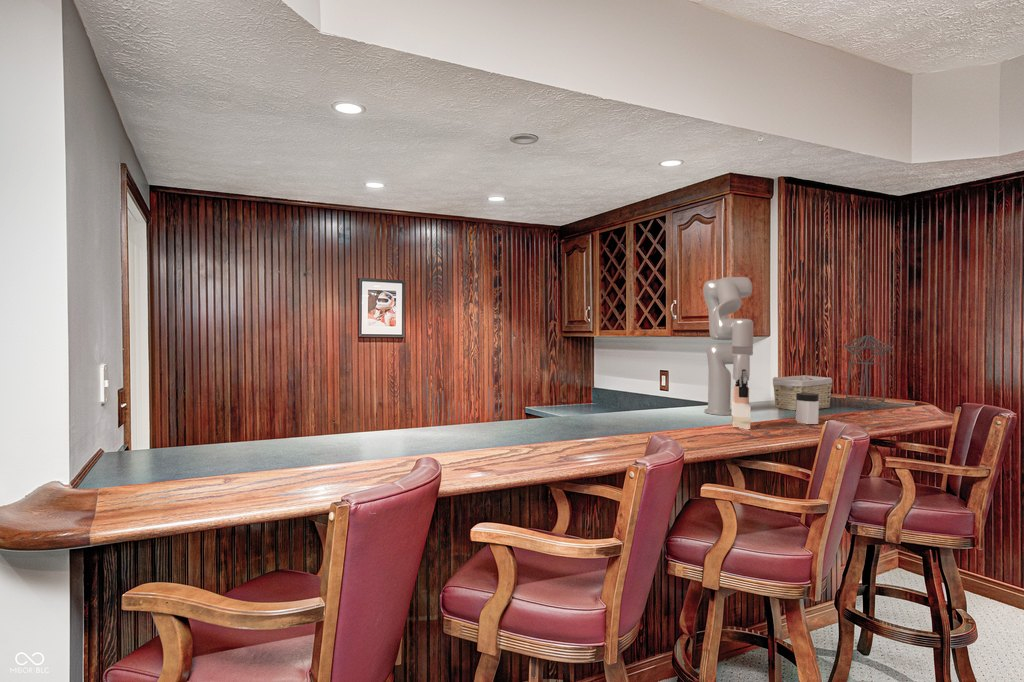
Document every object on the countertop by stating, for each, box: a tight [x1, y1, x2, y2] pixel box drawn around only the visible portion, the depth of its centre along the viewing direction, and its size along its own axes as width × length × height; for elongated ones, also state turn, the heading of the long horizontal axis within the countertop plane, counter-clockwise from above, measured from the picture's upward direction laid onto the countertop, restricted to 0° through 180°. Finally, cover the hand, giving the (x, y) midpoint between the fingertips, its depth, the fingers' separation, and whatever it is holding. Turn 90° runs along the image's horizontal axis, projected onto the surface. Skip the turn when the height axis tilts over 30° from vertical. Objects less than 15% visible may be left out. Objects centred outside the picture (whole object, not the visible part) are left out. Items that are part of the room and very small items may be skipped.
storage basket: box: [772, 374, 833, 411], centre depth 275 cm, size 24×16×15 cm
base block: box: [730, 415, 751, 430], centre depth 223 cm, size 6×6×5 cm
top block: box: [732, 386, 750, 404], centre depth 223 cm, size 5×5×6 cm
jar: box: [795, 393, 820, 425], centre depth 235 cm, size 9×8×12 cm
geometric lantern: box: [843, 334, 893, 410], centre depth 274 cm, size 16×16×35 cm
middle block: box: [731, 400, 752, 418], centre depth 223 cm, size 6×6×5 cm
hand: (741, 395), depth 223 cm, fingers open, 9 cm apart
